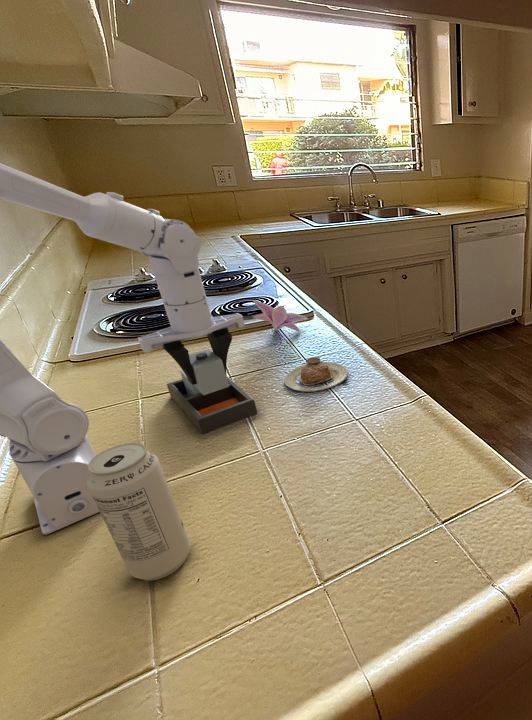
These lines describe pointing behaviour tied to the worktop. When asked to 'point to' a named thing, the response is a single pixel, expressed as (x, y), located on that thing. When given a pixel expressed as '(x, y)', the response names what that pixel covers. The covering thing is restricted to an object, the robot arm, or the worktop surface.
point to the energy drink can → (138, 510)
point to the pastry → (316, 374)
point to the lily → (278, 317)
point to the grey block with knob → (189, 386)
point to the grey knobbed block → (208, 372)
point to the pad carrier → (213, 405)
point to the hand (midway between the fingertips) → (208, 377)
